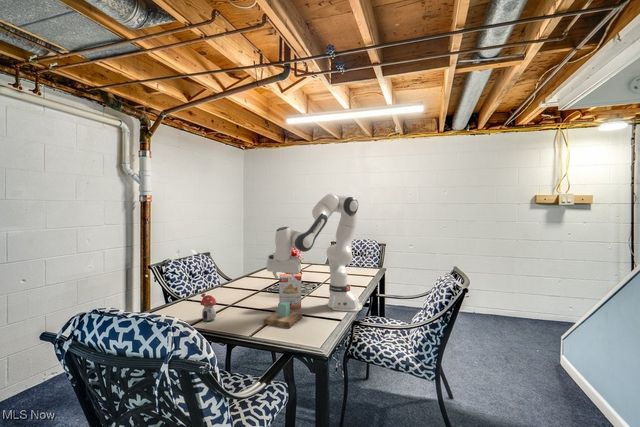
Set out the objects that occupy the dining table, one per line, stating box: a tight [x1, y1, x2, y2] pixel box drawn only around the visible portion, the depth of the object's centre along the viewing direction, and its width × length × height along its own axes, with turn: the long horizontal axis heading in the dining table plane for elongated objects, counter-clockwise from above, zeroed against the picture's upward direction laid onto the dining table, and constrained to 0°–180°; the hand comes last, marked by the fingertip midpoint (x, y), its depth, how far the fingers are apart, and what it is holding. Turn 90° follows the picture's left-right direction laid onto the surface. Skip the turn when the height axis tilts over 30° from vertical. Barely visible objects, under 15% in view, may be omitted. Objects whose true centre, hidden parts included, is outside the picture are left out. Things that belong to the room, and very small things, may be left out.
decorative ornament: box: [199, 293, 217, 323], centre depth 171 cm, size 9×6×15 cm
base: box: [263, 309, 303, 329], centre depth 171 cm, size 16×16×3 cm
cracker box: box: [278, 273, 302, 309], centre depth 192 cm, size 14×6×21 cm, turn 95°
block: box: [277, 301, 291, 317], centre depth 171 cm, size 5×5×7 cm
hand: (283, 280), depth 170 cm, fingers open, 8 cm apart
